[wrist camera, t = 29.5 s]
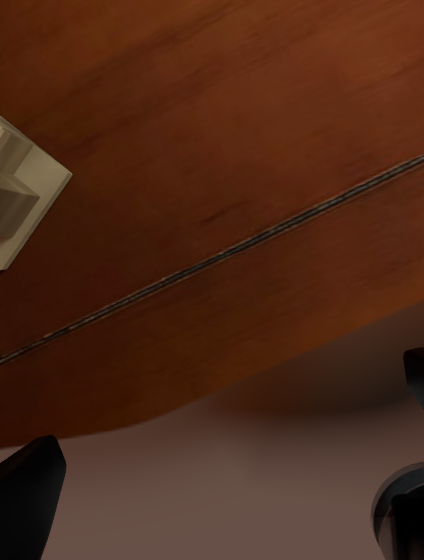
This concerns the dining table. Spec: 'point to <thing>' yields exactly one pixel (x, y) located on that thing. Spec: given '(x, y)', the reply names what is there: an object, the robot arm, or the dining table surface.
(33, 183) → the scoop
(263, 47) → the dining table surface
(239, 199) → the dining table surface
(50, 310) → the dining table surface
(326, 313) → the dining table surface
